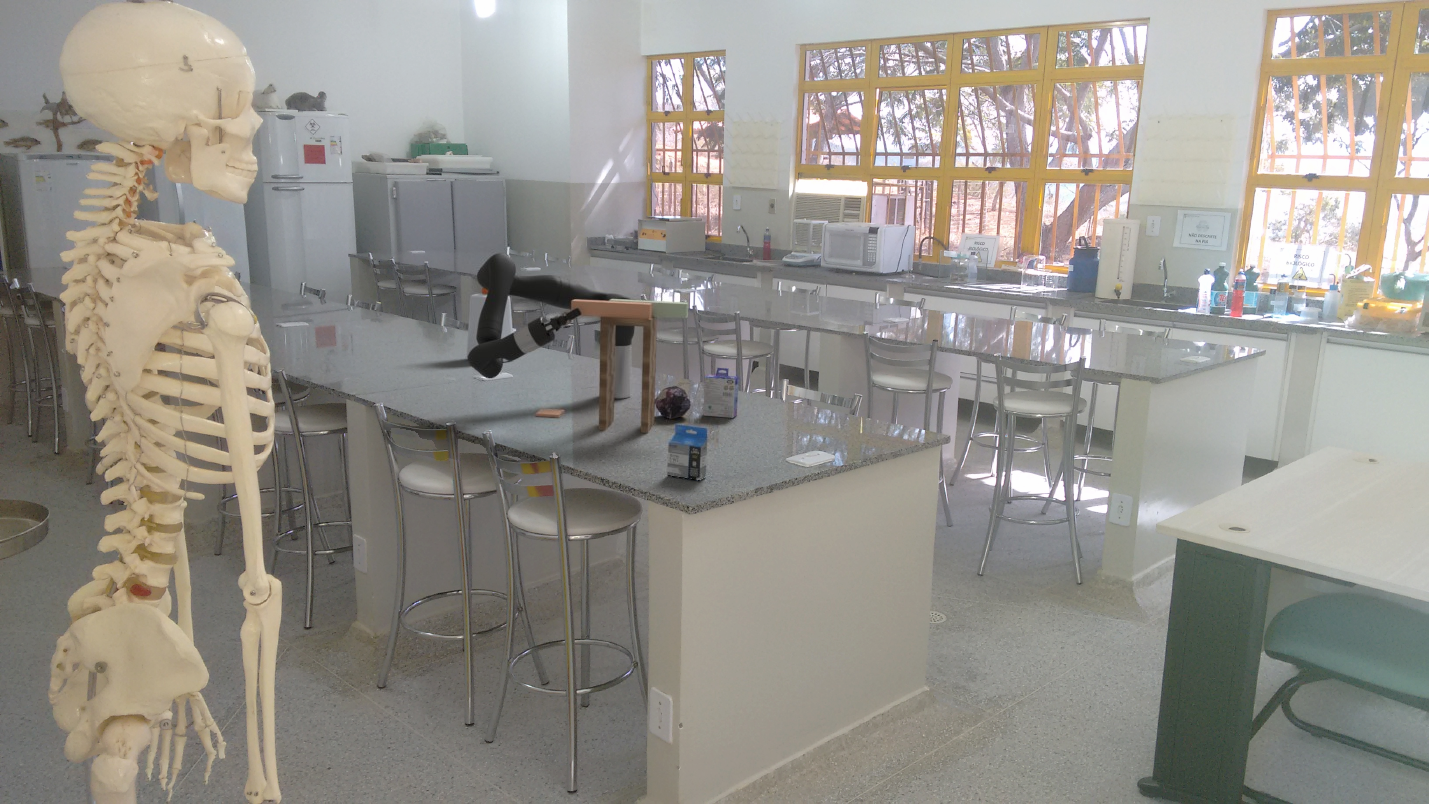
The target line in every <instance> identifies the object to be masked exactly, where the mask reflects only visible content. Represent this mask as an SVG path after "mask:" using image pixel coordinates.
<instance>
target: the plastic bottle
mask: <svg viewBox="0 0 1429 804" xmlns="http://www.w3.org/2000/svg"><path fill="white" fill-rule="evenodd" d="M487 294H488V290H486V289H485V288H483V287H482V288H481V293H475V294H472V295H470V297H469V313H468V328H467V343H466V345H467V346H466V359H467V360H468V354H469V352H470V351H471V350H472V349H473V348H474V347H475V346H477V345H479V344H478V342H477V339H476V335H477V328H478V322H479V317H480V314H481V311H482V308H483V305H484V303H485V300H486V297H487ZM512 333H513V318H512V305H511V297H510V295H508V299H507V303H506V308H505V313H504V320H503V328H502V335H501V339H502V338H504V337H506V336H508V335H510V334H512ZM507 362H509V361H508V360H506V359H503V363H507Z"/></svg>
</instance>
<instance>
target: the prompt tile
mask: <svg viewBox="0 0 1429 804" xmlns="http://www.w3.org/2000/svg"><path fill="white" fill-rule="evenodd" d="M564 414H565V409H556V408H555V409H554V408H541V409H539V410H538V411H537V412H535V417H544V418H560V417H561V416H562V415H564Z"/></svg>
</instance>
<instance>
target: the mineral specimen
mask: <svg viewBox="0 0 1429 804" xmlns="http://www.w3.org/2000/svg"><path fill="white" fill-rule="evenodd" d="M691 407H692V402H691V399H690V397H689V395H688V393H687V392H686V390H685V389H683V388H682V387H680V386H677V385H673V386H668V387H665V388H663V389H662V390H661V391H660V392H659V393H658V395H657V397H655V408H656V409H657V410H658V413H659V414H660V415H661V416H663V417H664V418H667V419H668V418H669V420H673V419H678V418H680V417H683V416H685V415H686V413H688V411H689V410H690V409H691Z"/></svg>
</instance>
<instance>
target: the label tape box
mask: <svg viewBox="0 0 1429 804" xmlns="http://www.w3.org/2000/svg"><path fill="white" fill-rule="evenodd" d="M674 429H675V430H674V434H673V436H672V438H671V439H670V440H669V441H668V447H667V448H668V449H667V467H666V472H667V473H666V476H667V475H671V476H670V477H672V476H680V477H687V478H692V479H699V480H700V479H702V478H704V477H705V476H706V473H707V458H708V457H707V455H708V454H707V452H708V439H709V438H708V428H707V427H701V426H693V425H686V424H679V423H675V425H674ZM687 431H692V432H694V433H692V432H687ZM706 477H707V476H706ZM706 477H705V478H706ZM705 478H704V479H705ZM700 481H701V480H700Z"/></svg>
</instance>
